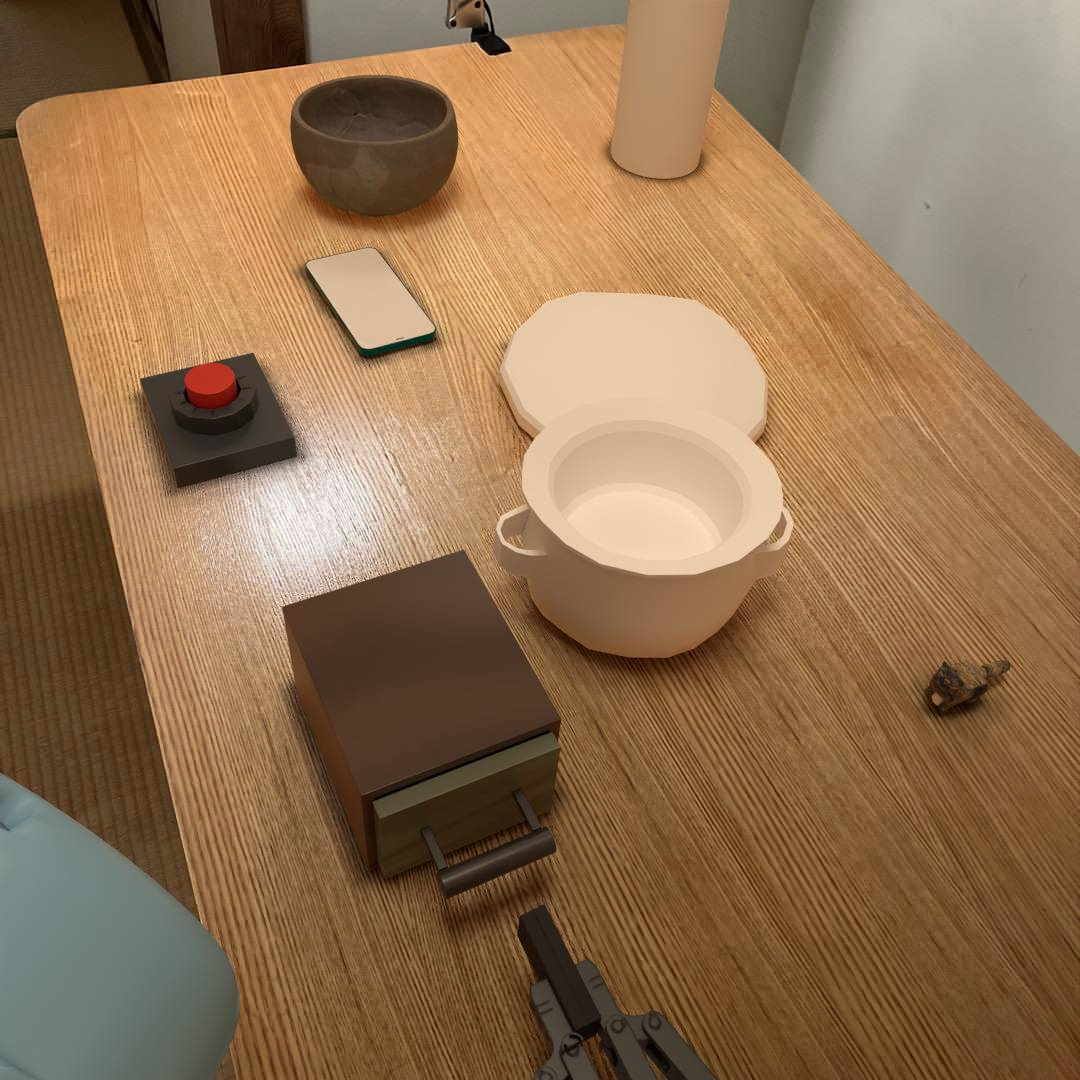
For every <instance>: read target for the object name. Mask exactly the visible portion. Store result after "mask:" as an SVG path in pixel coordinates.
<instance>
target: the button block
mask: <svg viewBox="0 0 1080 1080" xmlns="http://www.w3.org/2000/svg"><path fill="white" fill-rule="evenodd" d="M209 363H219V364H223V365H226V366H228V367H229V368H230V369H231V370H232V371H233V372H234V375H235V380H236V386H237V397H236V399H235V400H234V401H233V402H232V403H230V404H229V405H227V406H225V407H221V408H217V409H203V408H198V407H196V406H194V405H193V404H192V403H191V402H190V401H189V398H188V394H187V390H186V385H185V377H186V375H187V373H188V372H189V371H190V370H191V369H193V368H194V367H196V366H199V365H202V364H203V363H201V364H197V365H193V366H188V367H184V368H179V369H175V370H171V371H166V372H163V373H158V374H153V375H149V376H144V377H140V378H139V384H140V386H141V390H142V394H143V397H144V398H143V399H144V401H145V403H146V406H147V408H148V411H149V415H150V416H151V420H152V422H153V424H154V427H155V430H156V432H157V435H158V439H159V440H160V443H161V446H162V449H163V451H164V454H165V457H166V459H167V463H168V465H169V468H170V470H171V473H172V476H173V479H174V481H175V485H176V486H177V488H182V487H185V486H186V487H187V486H189V485H193V484H196V483H200V482H205V481H207V480H212V479H215V478H220V477H223V476H226V475H230V474H234V473H238V472H243V471H245V470H250V469H253V468H257V467H260V466H264V465H268V464H272V463H275V462H279V461H283V460H287V459H291V458H294V457H297V456H298V450H297V443H296V437H295V435H294V433H293V431H292V428H291V427H290V424H289V422H288V420H287V419H286V416H285V414H284V412H283V409H282V408H281V406H280V404H279V402H278V399H277V398H276V396H275V394H274V392H273V390H272V388H271V385H270V383H269V380H268V379H267V377H266V374H265V373H264V371H263V369H262V367H261V365H260V363H259V361H258V359H257V356H256V355H255V353H254V352H249V353H245V354H241V355H236V356H233V357H228V358H223V359H218V360H214V361H211V362H209Z"/></svg>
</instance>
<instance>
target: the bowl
mask: <svg viewBox="0 0 1080 1080" xmlns="http://www.w3.org/2000/svg"><path fill="white" fill-rule="evenodd" d="M455 111H456V110H455V108H454V106H453V103H452V100H451V99H450V98H449V97H448V96H447V94H446V93H444V92H443V91H442V90H441V89H439V88H438V87H436V86H435V85H433V84H431V83H427V82H425V81H422V80H419V79H416V78H415V79H414V78H410V77H403V76H398V75H390V74H360V75H349V76H343V77H338V78H332V79H330V80H326V81H324V82H320V83H318V84H316V85H315V84H314V85H313V86H311V87H309V88H307V89H306V90H304V91H302V92H301V93H300V94H299V95H298V96H297V97H296V99H295V101H294V103H293V105H292V108H291V113H290V123H289V124H290V125H289V127H290V141H291V144H292V145H291V146H292V151H293V153H294V158H295V161H296V163H297V165H298V167H299V169H300V171H301V173H302V175H303V176H304V178H305V180H306V181H307V183H308V184H309V185H310V187H311V188H312V190H313V191H314V193H315V194H316V195H317V196H318V197H319V198H321V199H322V200H323V201H326V202H327V203H328V204H329V205H331V206H333V207H335V208H337V209H339V210H341V211H344V212H347V213H351V214H355V215H358V216H364V217H371V218H374V217H375V218H382V217H392V216H397V215H401V214H405V213H407V212H410V211H413V210H414V209H417V208H419V207H421V206H423V205H425V204H426V203H428V202H429V201H430V200H432V199H433V198H434V197H435V196H436V195H437V194H438V193H439V192H440V191H441V190H442V189H443V188H444V186H445V184H447V182H448V181H449V179H450V176H451V175H452V172H453V170H454V167H455V164H456V161H457V156H458V149H459V128H458V122H457V116H456V112H455Z"/></svg>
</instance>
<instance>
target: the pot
mask: <svg viewBox="0 0 1080 1080" xmlns="http://www.w3.org/2000/svg"><path fill="white" fill-rule="evenodd" d="M521 470H522V471H521V494H522V496H523V499H524V501H525V502H526V503H524V504H522V505H520V506H517V507H516V508H514V509H512V510H509V511H508V512H506V513H504V514H502V515H501V516H500V518H499V519H498V522H497V525H496V527H495V531H494V532H495V533H494V541H493V548H492V551H493V554H494V557H495V559H496V561H497V564H498V566H499V567H500V568H502V569H504V570H505V571H506V572H509V573H511V574H512V575H514V576H518V577H522V578H525V579H526V584H527V587H528V592H529V595H530V598H531V600H532V602H533V603H534V604H535V606H536V608H537V609H538V611H539V612H540V614H541V616H543V617H544V618H545V619H547V620H548V621H549V622H550V623H551V624H552V625H554V626H556V627H557V628H558V629H559V630H561V632H563V633H564V634H566V635H567V636H568V637H570V638H572V639H573V640H574V641H576V642H577V643H579V644H580V645H582V646H583V647H585V648H586V649H588V650H591V651H595V652H601V653H606V654H610V655H615V656H619V657H625V658H641V659H642V658H645V659H646V658H648V659H650V658H654V659H657V658H659V659H660V658H661V659H666V658H667V659H668V658H670V657H671V658H672V657H673V656H676V655H679V654H682V653H686V652H689V651H691V650H693V649H695V648H697V647H698V646H699V645H700V644H703V642H705V641H706V640H708V639H709V638H711V637H712V636H713V635H715V634H716V633H718V632H719V631H720V629H722V628H723V626H724V625H725V624H726V623H727V622H728V621H730V619H731V618H732V617H733V616H734V614H735V613H736V611H737V610H738V608H739V607H740V606H741V604H742V602H743V601H744V599H746V596H747V595H748V593H749V592H750V590H751V588H752V587H753V586H754V584H755V583H756V581H757V580H761V579H764V578H768V577H770V576H771V577H772V576H774V575H775V574H776V573H777V572H778V570H779V569H780V568H781V567H782V566H783V565H784V563H785V560H786V558H787V554H788V551H789V549H790V548H789V547H790V545H791V540H792V535H793V531H794V526H795V523H794V520H793V518H792V515H791V514H790V511H789V509H788V508H787V507H785V506H784V504H783V503H784V496H783V486H782V481H781V478H780V477H779V474H778V472H777V470H776V468H775V466H774V464H773V463H772V462H771V459H769V458H768V456H767V455H766V454H765V453H764V451H763V450H762V449H761V448H760V447H759V446H758V445H757V444H756V442H755V443H754V442H753V441H752V440H751V439H750V438H749V437H748V436H747V435H746V434H744V433H743V432H741V431H740V430H738V429H737V428H735V427H734V426H733V425H731V424H730V423H728V422H727V421H725V420H723V419H721V418H719V417H717V416H715V415H712V414H710V413H708V412H706V411H703V410H699V409H696V408H693V407H689V406H686V405H682V404H679V403H676V402H671V401H664V400H657V399H650V398H622V399H608V400H603V401H599V402H595V403H591V404H587V405H583V406H580V407H578V408H576V409H574V410H572V411H570V412H568V413H566V414H564V415H562V416H560V417H558V418H556V419H554V420H553V421H552V422H551V423H550V424H549V425H548V426H547V427H546V428H545V429H544V430H543V431H542V432H541V433H539V434H538V435H537V436H536V437H535V439H534V438H533V440H532V442H531V444H530V446H529V447H528V449H527V450H526V452H525V453H524V455H523V463H522V469H521ZM773 533H774V534H776V535H777V536H778V540H777V541H775V542H772V543H767V542H769V540H770V538H771V537H772V535H773ZM519 535H522V548H520V547H516V546H514V545H512V544H511V543H509V542H508V541H506V540H507V539H509V538H512V537H515V536H519Z"/></svg>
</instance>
